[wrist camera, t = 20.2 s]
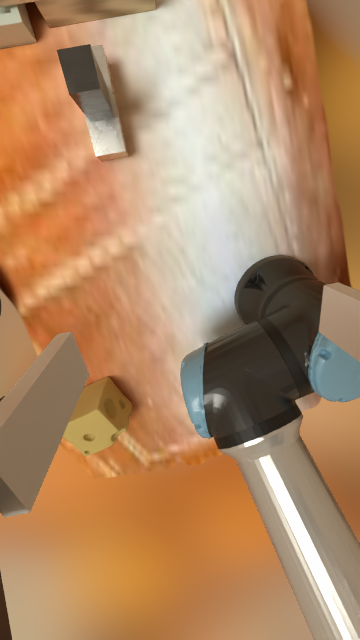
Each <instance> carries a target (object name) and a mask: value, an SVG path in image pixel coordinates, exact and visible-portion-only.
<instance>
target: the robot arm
mask: <svg viewBox="0 0 360 640" xmlns="http://www.w3.org/2000/svg"><path fill="white" fill-rule="evenodd" d="M235 307H236V310H237V312H238V314H239V316H240V317H241V319H242V320H243V321H244V322H245V323H246V324H247V325H245V326H243V327H241V328H239V329H237V330H235V331H233V332H231V333H229V334H227V335H225V336H223V337H220V338H218V339H216V340H214V341H212V342H210V343H208V342H207V343H205V344H204V345H203V346H202V347H200V348H199V349H197V350H195V351H193V352H191V353H189V354H188V355H187V356H186V357H185V358H184V359H183V361H182V364H181V372H180V376H181V386H182V391H183V396H184V400H185V404H186V407H187V410H188V413H189V416H190V419H191V421H192V423H193V424H194V426H195V429H196V431H197V433H198V434H199V435H200V436H201V437H203V438H208V439H210V438H212V437H214V439H215V442H216V444H217V447H218V449H219V451H220V452H222V453H224V454H226V455H228V456H230V457H232V458H234V459H235V460H236V461H237V463H238V466H239V468H240V470H241V473H242V475H243V477H244V480H245V482H246V484H247V486H248V489H249V491H250V493H251V496H252V498H253V500H254V502H255V505H256V507H257V509H258V512H259V514H260V516H261V519H262V521H263V523H264V526H265V528H266V530H267V533H268V535H269V537H270V539H271V542H272V544H273V546H274V549H275V551H276V553H277V555H278V558H279V560H280V562H281V565H282V567H283V569H284V572H285V574H286V576H287V579H288V581H289V583H290V586H291V588H292V590H293V592H294V595H295V597H296V599H297V602H298V604H299V606H300V609H301V611H302V613H303V615H304V618H305V620H306V622H307V624H308V627H309V629H310V632H311V634H312V636H313V639H314V640H360V543H359V541H358V539H357V537H356V536H355V534H354V532H353V530H352V528H351V527H350V525H349V523H348V521H347V519H346V517H345V516H344V514H343V512H342V510H341V508H340V507H339V505H338V503H337V501H336V500H335V498H334V496H333V494H332V492H331V491H330V489H329V487H328V485H327V483H326V482H325V480H324V478H323V476H322V474H321V472H320V471H319V469H318V467H317V465H316V463H315V462H314V460H313V458H312V456H311V454H310V453H309V451H308V449H307V447H306V445H305V444H304V442H303V440H302V438H301V437H300V434H299V429H300V425H301V422H302V418H303V415H302V413H301V411H300V409H299V408H298V406H297V404H296V402H295V400H296V399H299V398H301V397H303V396H306V395H308V394H310V393H313V392H316V393H317V395H319V396H320V397H323V398H325V399H327V400H329V401H339V402H347V401H351V400H354V399H357V398H359V397H360V291H359V290H356V289H354V288H351V287H349V286H346V285H344V284H341V283H333V284H325V283H323V282H320V281H318V280H317V278H316V277H315V276H314V275H313V273H312V271H311V270H310V269H309V267H308V266H307V265H305V264H304V263H303V262H301V261H299V260H297V259H294V258H291V257H288V256H281V255H278V256H271V257H267V258H265V259H262V260H260V261H258V262H257V263H255V264H254V265H252V266H251V267H250V268H249V269H248V270H247V271H246V272H245V273H244V275H243V276H242V277H241V279H240V281H239V283H238V285H237V288H236V292H235ZM88 377H89V372H88V369H87V367H86V364H85V362H84V359H83V357H82V355H81V352H80V350H79V347H78V345H77V343H76V340H75V338H74V335H73V333H72V332H66V333H61V334H57V335H56V336H55V337H54V338H53V340H52V341H51V342H50V343H49V344H48V346H47V347H46V348H45V349H44V350H43V352H42V353H41V354H40V355H39V356H38V357H37V359H36V360H35V361H34V362H33V363H32V365H31V366H30V367H29V368H28V369H27V371H26V372H25V373H24V374H23V375H22V377H21V378H20V379H19V380H18V381H17V382H16V384H15V385H14V386H13V387H12V388H11V390H10V391H9V392H8V393H7V394H6V396H3V397H2V398H1V399H0V513H1V514H3V516H4V517H9V516H14V515H19V514H25V513H30V511H31V509H32V506H33V504H34V502H35V499H36V497H37V495H38V493H39V490H40V488H41V486H42V483H43V481H44V479H45V476H46V474H47V472H48V469H49V467H50V465H51V462H52V460H53V458H54V455H55V453H56V451H57V448H58V446H59V444H60V442H61V439H62V437H63V435H64V432H65V430H66V428H67V425H68V423H69V421H70V418H71V416H72V414H73V411H74V409H75V407H76V404H77V402H78V400H79V398H80V395H81V393H82V391H83V388H84V386H85V384H86V381H87V379H88ZM0 640H12V636H11V630H10V624H9V619H8V613H7V607H6V601H5V595H4V590H3V584H2V579H1V573H0Z"/></svg>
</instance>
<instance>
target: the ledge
mask: <svg viewBox="0 0 360 640" xmlns="http://www.w3.org/2000/svg"><path fill="white" fill-rule="evenodd" d="M28 2H35V4H36V6H37V7H38V9H39V11H40V12H41V14H42V16H43V17H44V19H45V21H46V23H47V24H48V26H49V28H53V27H59V26H64V25H70V24H76V23H82V22H87V21H93V20H99V19H105V18H111V17H116V16H122V15H128V14H134V13H140V12H145V11H151V10H156V0H0V7H5V6H11V5H17V4H22V3H28Z"/></svg>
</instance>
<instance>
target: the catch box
mask: <svg viewBox="0 0 360 640" xmlns="http://www.w3.org/2000/svg"><path fill="white" fill-rule="evenodd" d="M32 43H37V41H36V38H35V35H34V31H33V28H32V25H31V22H30V18H29V15H28V12H27V9H26V5H25V3H22V4H17V5H11V6H5V7H0V49H3V48H8V47H14V46H20V45H26V44H32Z"/></svg>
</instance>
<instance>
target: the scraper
mask: <svg viewBox="0 0 360 640" xmlns="http://www.w3.org/2000/svg"><path fill="white" fill-rule="evenodd" d="M57 53H58V56H59V60H60V63H61V67H62V70H63V74H64V77H65V81H66V84H67V88H68V91H69V95H70V96H71V97H72V98H73V100H74V101H75V102H76V104H77V105H78V106H79V108H80V109H81V110H82V112H83V113H84V114H85V118H86V122H87V125H88V129H89V133H90V136H91V140H92V144H93V148H94V151H95V155H96V157H97V158H98V159H100V160H101V161H102V162H103V161H109V160H115V159H120V158H126V157H129V156H128V151H127V146H126V142H125V137H124V132H123V128H122V123H121V119H120V114H119V109H118V105H117V100H116V96H115V91H114V86H113V82H112V77H111V72H110V68H109V64H108V61H107V58H106V55H105V52H104V48H103V45H98V46H92V47H91V45H90V44H89V45H83V46H77V47H72V48H66V49H60V50H57Z"/></svg>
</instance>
